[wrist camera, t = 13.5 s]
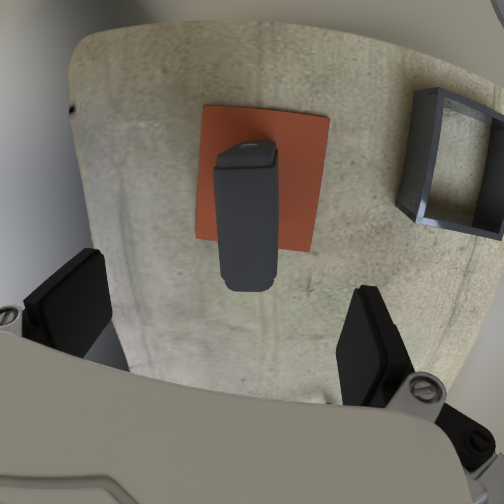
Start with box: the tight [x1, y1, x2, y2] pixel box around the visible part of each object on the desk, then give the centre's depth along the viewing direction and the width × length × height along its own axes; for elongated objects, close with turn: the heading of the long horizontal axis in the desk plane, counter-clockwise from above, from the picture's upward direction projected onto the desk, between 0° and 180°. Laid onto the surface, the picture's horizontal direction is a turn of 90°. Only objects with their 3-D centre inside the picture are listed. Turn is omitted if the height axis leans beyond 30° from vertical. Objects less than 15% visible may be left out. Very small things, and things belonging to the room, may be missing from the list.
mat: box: [196, 105, 330, 252], centre depth 33 cm, size 15×13×1 cm
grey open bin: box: [396, 87, 504, 241], centre depth 27 cm, size 14×13×6 cm
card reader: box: [213, 140, 279, 292], centre depth 26 cm, size 9×4×15 cm, turn 2°
